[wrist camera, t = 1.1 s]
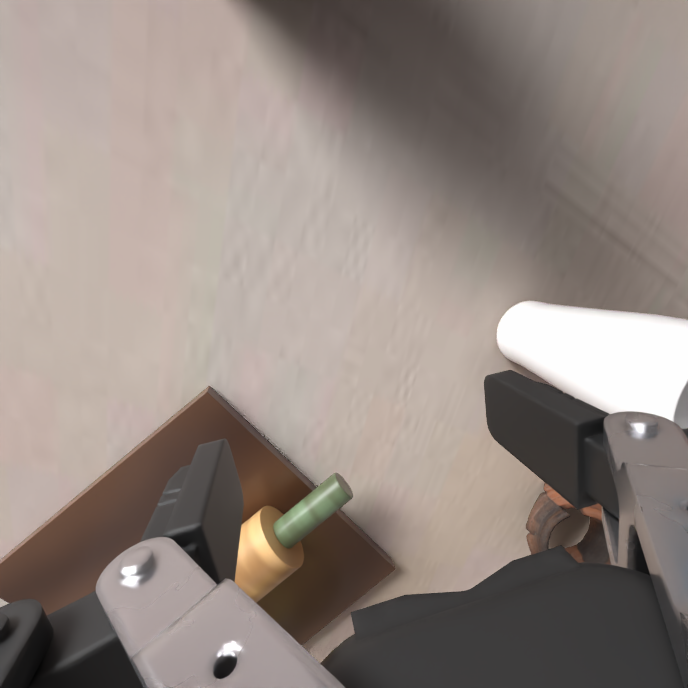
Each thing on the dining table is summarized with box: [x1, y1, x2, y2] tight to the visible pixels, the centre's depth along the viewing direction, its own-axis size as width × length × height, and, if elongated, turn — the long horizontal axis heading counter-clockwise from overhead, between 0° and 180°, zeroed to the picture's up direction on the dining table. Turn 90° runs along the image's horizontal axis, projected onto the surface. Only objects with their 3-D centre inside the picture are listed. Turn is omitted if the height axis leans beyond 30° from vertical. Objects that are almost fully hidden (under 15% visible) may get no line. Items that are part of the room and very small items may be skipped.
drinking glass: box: [496, 301, 688, 429], centre depth 24 cm, size 7×7×15 cm
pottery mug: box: [526, 483, 611, 565], centre depth 35 cm, size 12×9×8 cm
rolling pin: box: [235, 473, 353, 603], centre depth 28 cm, size 5×28×5 cm, turn 128°
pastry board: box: [0, 386, 396, 645], centre depth 31 cm, size 24×22×1 cm
